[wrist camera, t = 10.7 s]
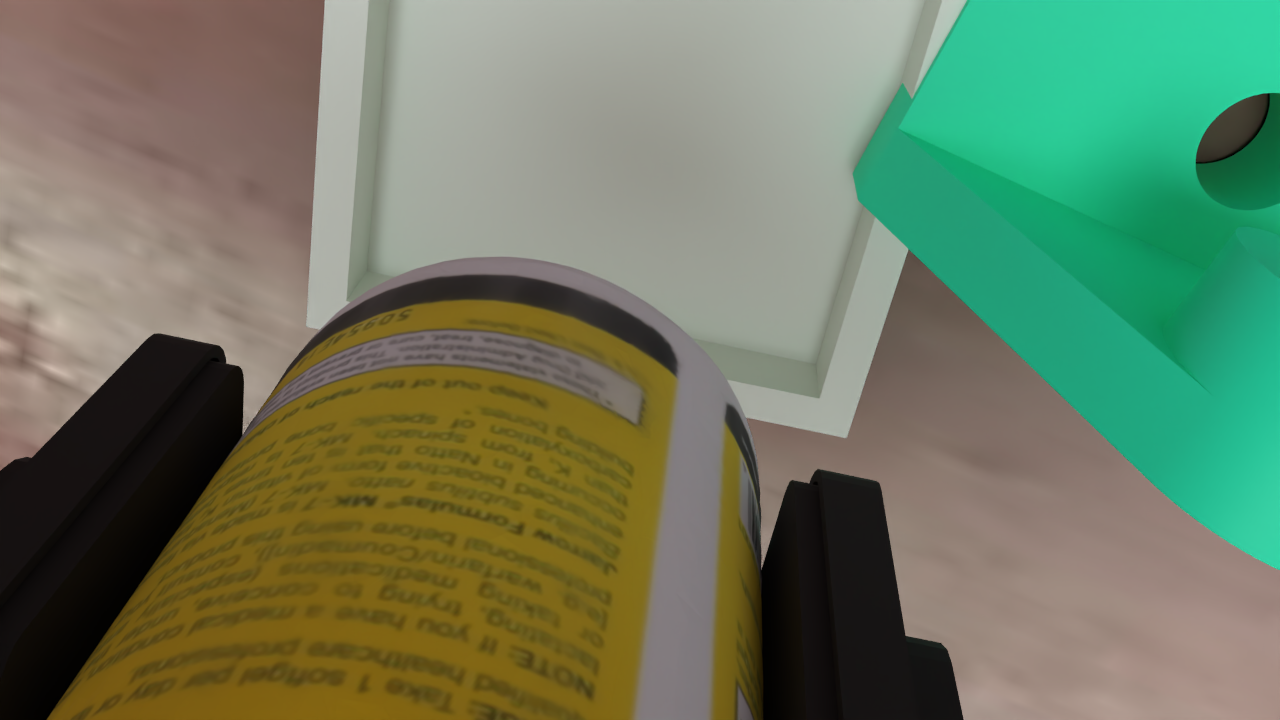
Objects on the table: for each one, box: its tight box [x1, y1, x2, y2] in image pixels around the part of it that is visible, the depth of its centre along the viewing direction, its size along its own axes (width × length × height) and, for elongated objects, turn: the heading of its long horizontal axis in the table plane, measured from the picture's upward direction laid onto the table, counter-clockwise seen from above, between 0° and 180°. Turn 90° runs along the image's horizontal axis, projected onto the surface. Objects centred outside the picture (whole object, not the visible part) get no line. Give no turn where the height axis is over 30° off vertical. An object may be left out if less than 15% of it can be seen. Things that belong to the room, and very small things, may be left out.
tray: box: [306, 0, 967, 438], centre depth 23 cm, size 12×12×2 cm
